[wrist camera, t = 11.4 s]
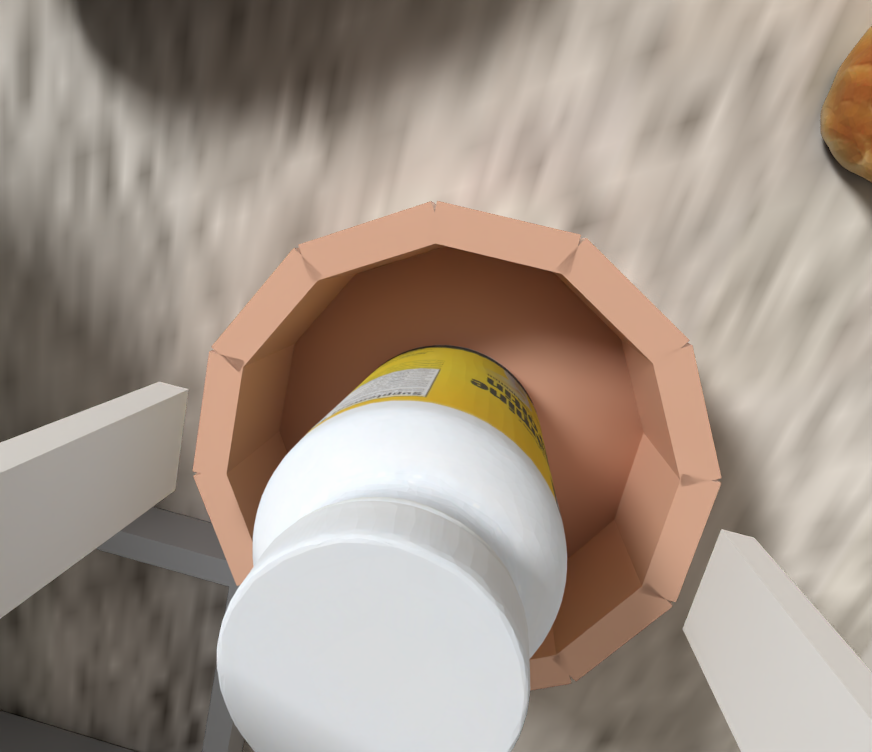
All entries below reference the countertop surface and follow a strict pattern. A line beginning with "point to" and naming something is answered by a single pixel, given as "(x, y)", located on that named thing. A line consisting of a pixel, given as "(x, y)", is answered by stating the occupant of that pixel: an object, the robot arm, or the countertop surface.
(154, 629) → the countertop surface
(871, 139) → the pastry
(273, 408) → the bowl
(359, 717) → the pill bottle
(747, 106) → the countertop surface
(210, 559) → the gray square frame
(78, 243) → the countertop surface
